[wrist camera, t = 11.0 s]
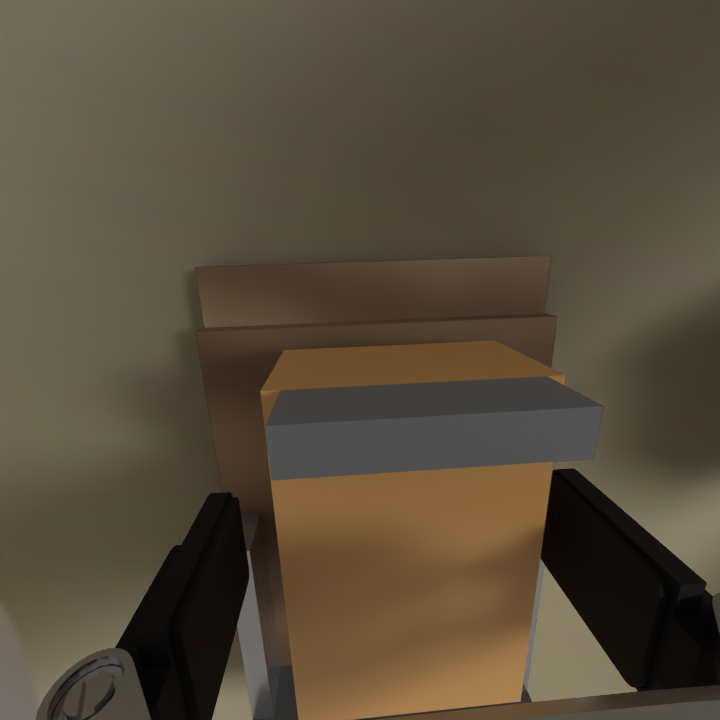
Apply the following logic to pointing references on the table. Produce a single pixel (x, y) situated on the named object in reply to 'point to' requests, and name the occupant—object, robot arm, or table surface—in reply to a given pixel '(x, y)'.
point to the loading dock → (336, 329)
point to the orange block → (414, 518)
